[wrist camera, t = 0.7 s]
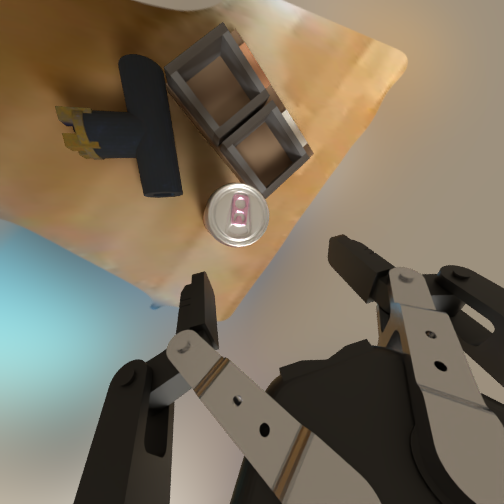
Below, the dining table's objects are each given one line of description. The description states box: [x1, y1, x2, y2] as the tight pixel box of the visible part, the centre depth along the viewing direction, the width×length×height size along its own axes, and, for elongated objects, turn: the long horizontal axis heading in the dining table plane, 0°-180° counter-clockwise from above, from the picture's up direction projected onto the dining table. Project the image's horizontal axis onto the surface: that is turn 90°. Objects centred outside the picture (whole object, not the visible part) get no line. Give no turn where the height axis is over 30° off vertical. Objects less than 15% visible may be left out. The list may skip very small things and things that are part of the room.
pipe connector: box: [55, 54, 183, 198], centre depth 24 cm, size 12×5×15 cm
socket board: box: [164, 22, 314, 199], centre depth 28 cm, size 20×13×4 cm, turn 41°
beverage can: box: [203, 183, 269, 247], centre depth 23 cm, size 6×6×15 cm
